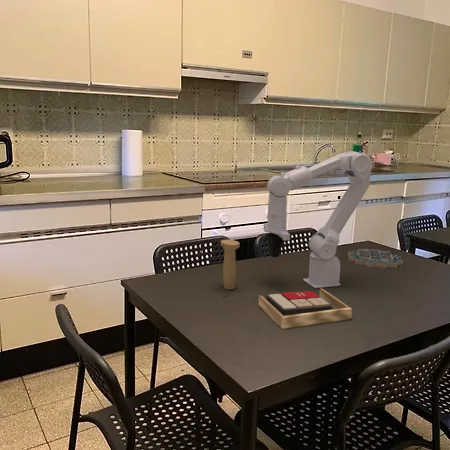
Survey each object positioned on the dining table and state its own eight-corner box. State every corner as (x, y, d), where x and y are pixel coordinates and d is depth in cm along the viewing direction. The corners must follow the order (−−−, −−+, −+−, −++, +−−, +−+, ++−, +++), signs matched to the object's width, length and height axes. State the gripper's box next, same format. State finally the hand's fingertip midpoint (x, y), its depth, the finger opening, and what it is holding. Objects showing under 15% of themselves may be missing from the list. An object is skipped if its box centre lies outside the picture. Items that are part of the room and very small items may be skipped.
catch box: (321, 297, 138) (322, 288, 137) (351, 319, 123) (352, 308, 123) (258, 305, 131) (258, 295, 130) (282, 328, 117) (282, 317, 116)
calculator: (332, 303, 125) (283, 307, 120) (330, 318, 126) (282, 322, 121) (312, 289, 135) (266, 292, 130) (310, 303, 136) (264, 306, 131)
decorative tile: (410, 260, 177) (410, 255, 176) (389, 273, 162) (390, 266, 162) (361, 250, 190) (362, 244, 189) (338, 260, 175) (338, 254, 175)
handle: (228, 293, 140) (229, 245, 136) (216, 286, 145) (217, 240, 141) (241, 289, 142) (242, 243, 139) (229, 283, 148) (230, 238, 144)
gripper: (255, 210, 148) (254, 251, 151) (275, 220, 135) (273, 264, 138) (275, 209, 150) (273, 249, 153) (296, 219, 137) (294, 262, 140)
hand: (274, 256), depth 146 cm, fingers closed
